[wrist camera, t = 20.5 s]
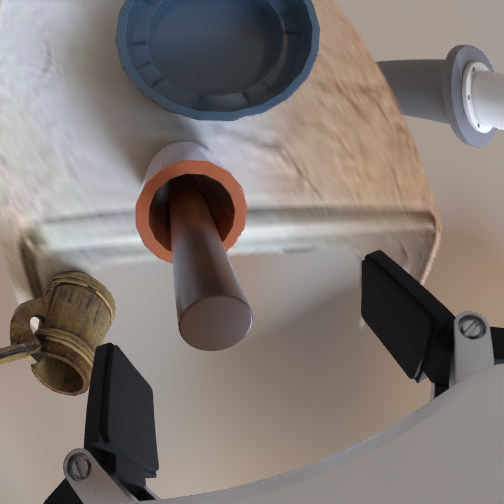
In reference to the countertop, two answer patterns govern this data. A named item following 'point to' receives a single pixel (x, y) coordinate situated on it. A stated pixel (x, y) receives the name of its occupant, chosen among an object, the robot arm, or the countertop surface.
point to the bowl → (217, 53)
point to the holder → (211, 185)
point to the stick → (203, 273)
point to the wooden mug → (62, 331)
